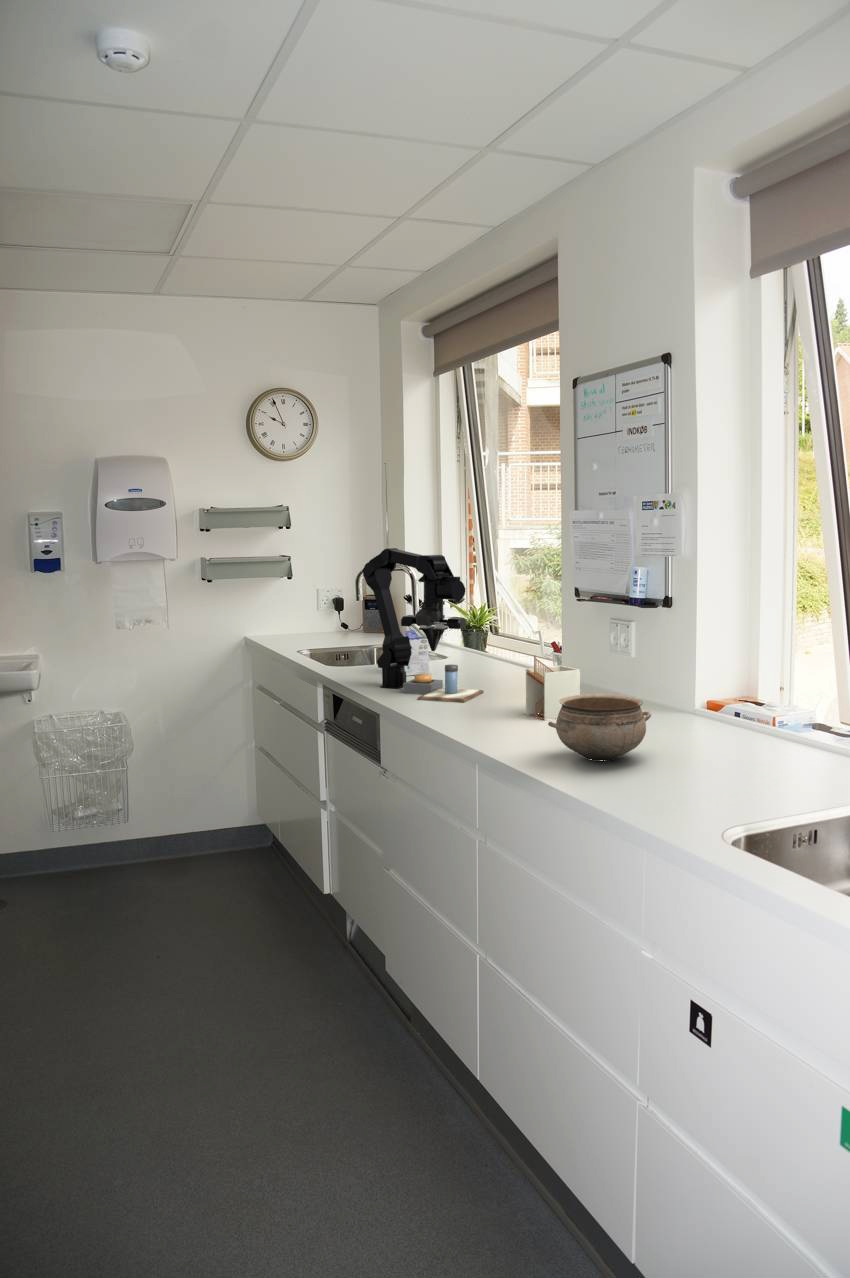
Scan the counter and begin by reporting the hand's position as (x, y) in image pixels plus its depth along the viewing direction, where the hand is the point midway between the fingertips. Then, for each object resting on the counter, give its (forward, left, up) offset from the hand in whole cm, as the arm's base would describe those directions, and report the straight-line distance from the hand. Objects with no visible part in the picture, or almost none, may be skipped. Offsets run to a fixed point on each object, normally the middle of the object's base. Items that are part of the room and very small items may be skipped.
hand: (433, 651), depth 289 cm
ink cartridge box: (-20, +31, -13) cm, 39 cm away
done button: (-4, +2, -10) cm, 11 cm away
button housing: (-4, +2, -13) cm, 13 cm away
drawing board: (+7, -3, -13) cm, 15 cm away
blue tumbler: (+7, -3, -12) cm, 14 cm away
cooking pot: (+64, -61, -13) cm, 89 cm away
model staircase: (+42, -21, -13) cm, 48 cm away
